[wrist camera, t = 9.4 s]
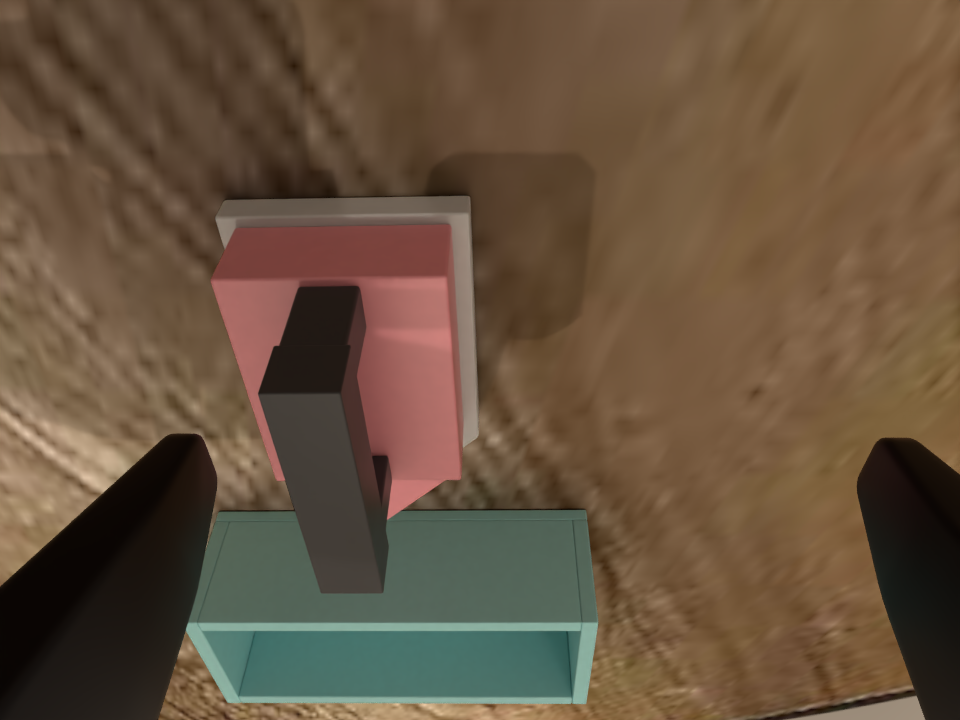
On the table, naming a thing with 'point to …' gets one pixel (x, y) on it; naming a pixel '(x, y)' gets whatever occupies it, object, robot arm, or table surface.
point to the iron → (353, 359)
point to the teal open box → (403, 612)
